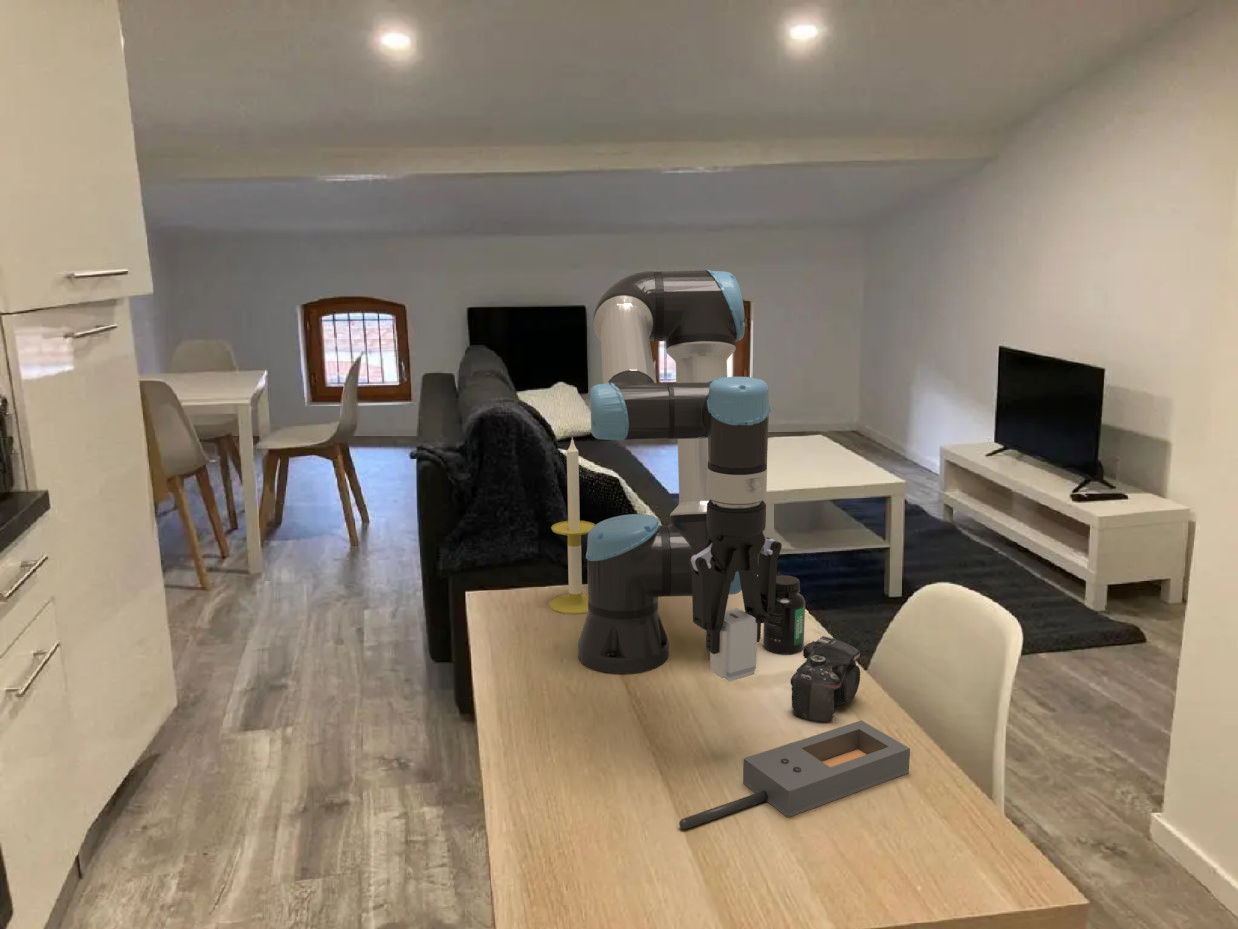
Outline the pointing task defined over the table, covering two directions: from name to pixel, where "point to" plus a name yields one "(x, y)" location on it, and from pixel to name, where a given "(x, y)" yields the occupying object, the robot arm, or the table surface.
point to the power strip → (816, 771)
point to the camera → (825, 679)
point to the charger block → (739, 644)
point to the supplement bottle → (785, 618)
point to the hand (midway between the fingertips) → (733, 669)
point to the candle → (573, 542)
